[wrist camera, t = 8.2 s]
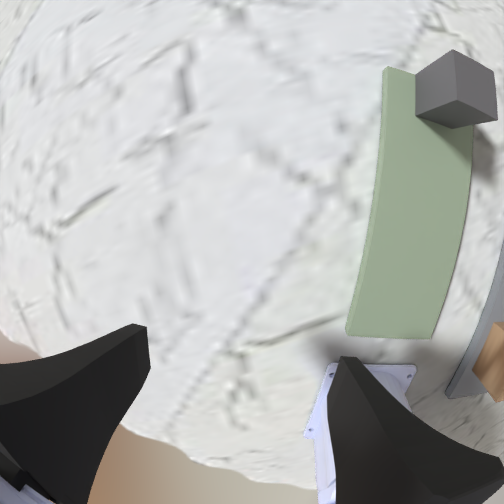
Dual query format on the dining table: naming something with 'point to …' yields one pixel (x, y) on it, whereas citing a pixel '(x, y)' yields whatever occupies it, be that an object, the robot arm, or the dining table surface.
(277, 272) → the dining table surface
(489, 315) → the grey strip with post
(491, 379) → the walnut block
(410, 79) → the olive strip
